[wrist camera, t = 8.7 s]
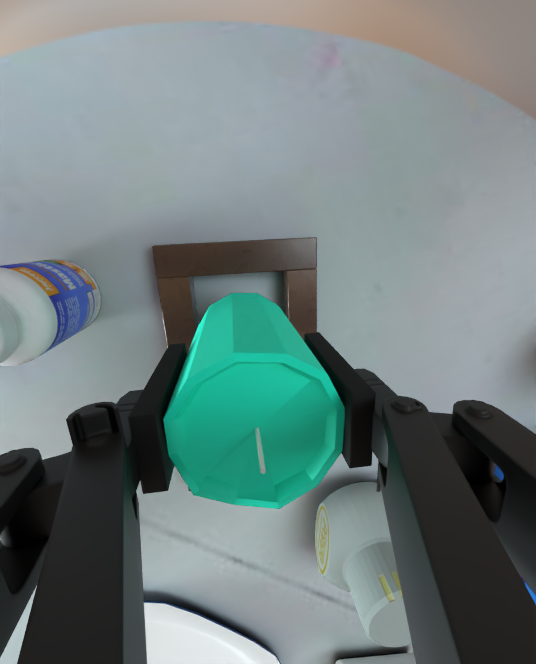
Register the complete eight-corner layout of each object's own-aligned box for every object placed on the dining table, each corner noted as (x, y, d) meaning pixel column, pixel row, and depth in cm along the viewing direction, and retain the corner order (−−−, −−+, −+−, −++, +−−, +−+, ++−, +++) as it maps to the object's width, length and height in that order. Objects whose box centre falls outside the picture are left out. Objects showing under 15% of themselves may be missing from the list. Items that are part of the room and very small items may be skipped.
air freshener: (318, 467, 30) (359, 571, 21) (399, 464, 32) (472, 562, 22) (309, 553, 34) (340, 677, 24) (382, 547, 35) (440, 665, 25)
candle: (208, 280, 19) (175, 344, 7) (302, 305, 20) (401, 397, 8) (186, 370, 20) (130, 542, 9) (275, 389, 21) (327, 564, 10)
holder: (158, 245, 23) (151, 245, 21) (310, 237, 24) (316, 237, 22) (191, 475, 29) (188, 491, 27) (311, 460, 30) (317, 475, 28)
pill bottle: (106, 268, 23) (23, 288, 14) (99, 336, 24) (19, 396, 15) (25, 250, 22) (-122, 259, 13) (22, 323, 24) (-113, 377, 14)
